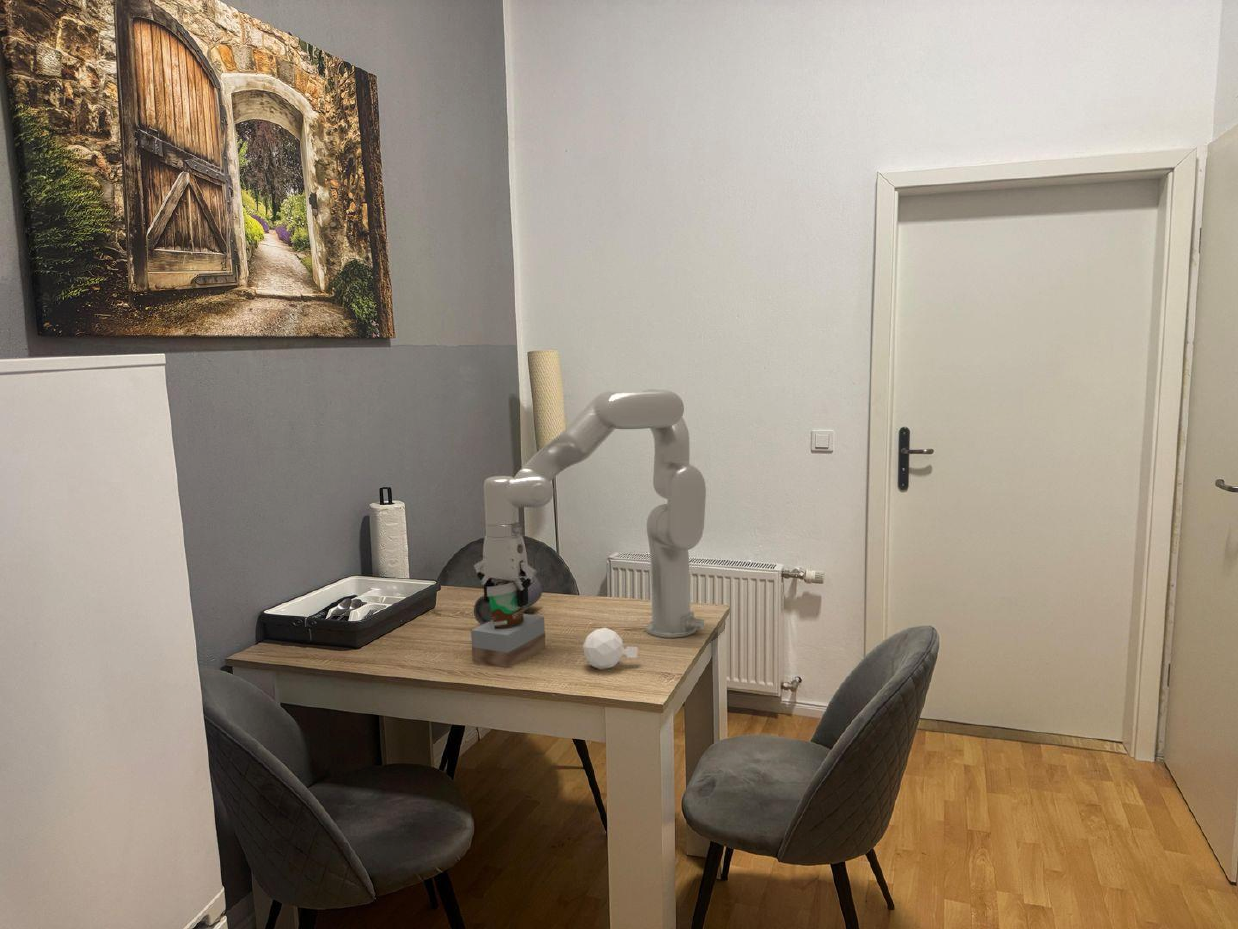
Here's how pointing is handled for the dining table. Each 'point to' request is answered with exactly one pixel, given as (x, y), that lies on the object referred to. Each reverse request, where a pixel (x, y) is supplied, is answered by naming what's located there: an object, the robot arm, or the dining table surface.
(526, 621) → the grey slab
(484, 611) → the bluetooth speaker
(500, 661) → the walnut slab
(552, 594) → the dining table surface
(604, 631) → the perfume bottle
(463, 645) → the dining table surface
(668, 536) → the robot arm
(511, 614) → the food container
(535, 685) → the dining table surface
